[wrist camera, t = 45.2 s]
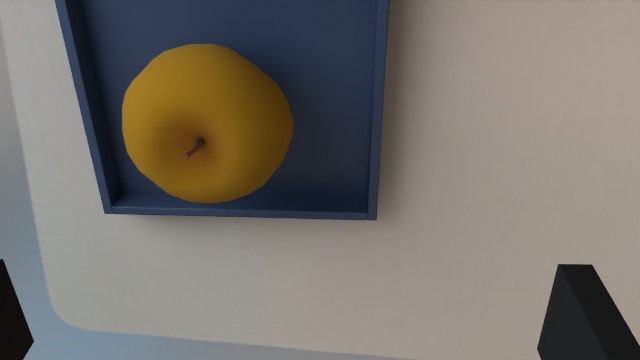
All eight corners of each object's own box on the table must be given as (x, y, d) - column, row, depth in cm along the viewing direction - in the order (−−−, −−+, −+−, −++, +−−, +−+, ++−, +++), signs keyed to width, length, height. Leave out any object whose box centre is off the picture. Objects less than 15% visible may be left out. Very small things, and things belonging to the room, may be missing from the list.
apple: (317, 47, 34) (307, 108, 26) (276, 171, 38) (258, 254, 31) (167, -2, 33) (111, 46, 25) (143, 131, 37) (89, 207, 30)
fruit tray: (117, 193, 41) (104, 214, 38) (65, -50, 32) (44, -41, 30) (374, 199, 40) (376, 220, 38) (388, -48, 32) (391, -39, 29)
